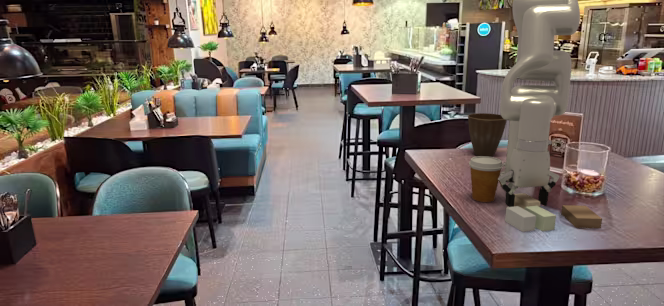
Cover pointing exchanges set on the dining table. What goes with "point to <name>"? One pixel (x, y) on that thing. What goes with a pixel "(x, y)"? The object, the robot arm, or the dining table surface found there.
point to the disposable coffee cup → (484, 177)
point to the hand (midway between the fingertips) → (525, 205)
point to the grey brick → (520, 218)
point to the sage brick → (542, 218)
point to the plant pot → (485, 132)
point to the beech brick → (525, 201)
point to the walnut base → (581, 216)
